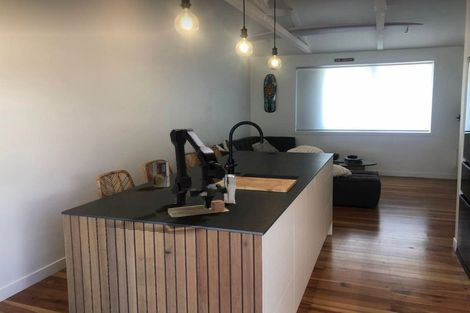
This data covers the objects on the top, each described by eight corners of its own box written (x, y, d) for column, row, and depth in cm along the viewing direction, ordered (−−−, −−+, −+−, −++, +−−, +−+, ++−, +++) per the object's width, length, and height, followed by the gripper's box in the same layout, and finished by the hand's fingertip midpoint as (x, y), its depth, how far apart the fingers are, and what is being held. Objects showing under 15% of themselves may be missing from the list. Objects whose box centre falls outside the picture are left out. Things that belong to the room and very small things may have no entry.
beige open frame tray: (168, 214, 185) (167, 208, 184) (223, 208, 196) (223, 202, 195) (172, 219, 177) (172, 213, 177) (229, 212, 188) (229, 206, 187)
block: (211, 209, 191) (211, 201, 191) (220, 207, 193) (220, 200, 192) (214, 211, 186) (214, 203, 186) (224, 210, 188) (224, 202, 188)
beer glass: (233, 205, 202) (232, 176, 200) (220, 204, 204) (220, 176, 202) (237, 202, 208) (237, 174, 206) (226, 201, 211) (225, 174, 209)
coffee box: (169, 185, 256) (169, 161, 254) (167, 187, 250) (166, 162, 248) (156, 185, 257) (155, 161, 255) (153, 187, 251) (152, 162, 249)
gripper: (193, 181, 175) (194, 215, 177) (231, 178, 182) (232, 210, 184) (186, 177, 185) (187, 209, 187) (223, 174, 192) (223, 205, 194)
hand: (207, 208), depth 188 cm, fingers closed
